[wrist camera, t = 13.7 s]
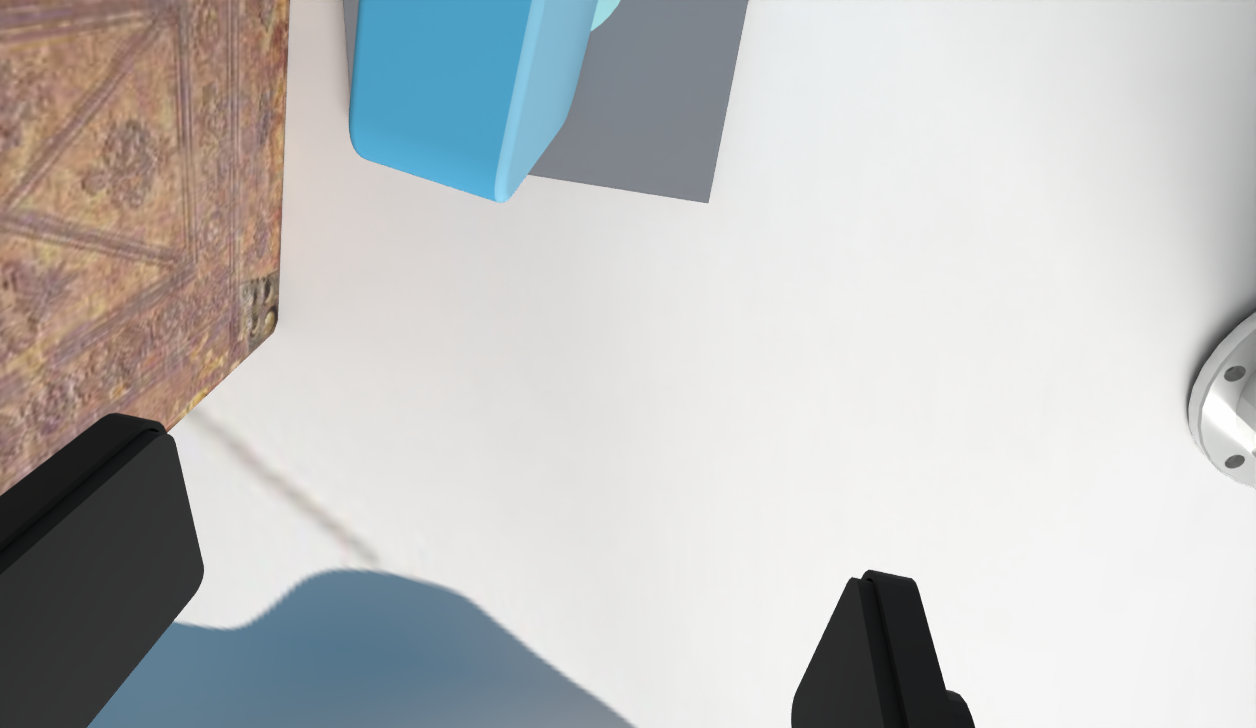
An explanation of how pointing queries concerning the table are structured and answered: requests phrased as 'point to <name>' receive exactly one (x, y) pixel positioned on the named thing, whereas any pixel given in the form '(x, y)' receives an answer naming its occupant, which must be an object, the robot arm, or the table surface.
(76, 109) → the book
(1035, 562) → the table surface
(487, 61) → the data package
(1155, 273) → the table surface
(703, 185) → the charging mat
